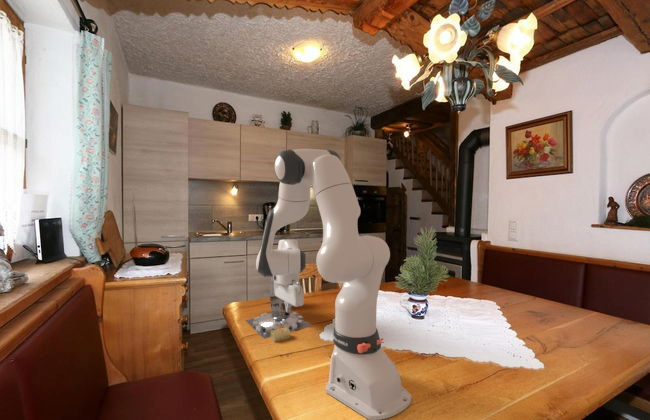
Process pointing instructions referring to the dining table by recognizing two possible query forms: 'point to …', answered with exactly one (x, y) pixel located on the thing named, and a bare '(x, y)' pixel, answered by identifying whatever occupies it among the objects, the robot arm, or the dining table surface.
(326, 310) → the dining table surface
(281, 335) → the brass link
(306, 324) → the base plate
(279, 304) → the coffee box
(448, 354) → the dining table surface
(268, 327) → the sprocket
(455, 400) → the dining table surface
